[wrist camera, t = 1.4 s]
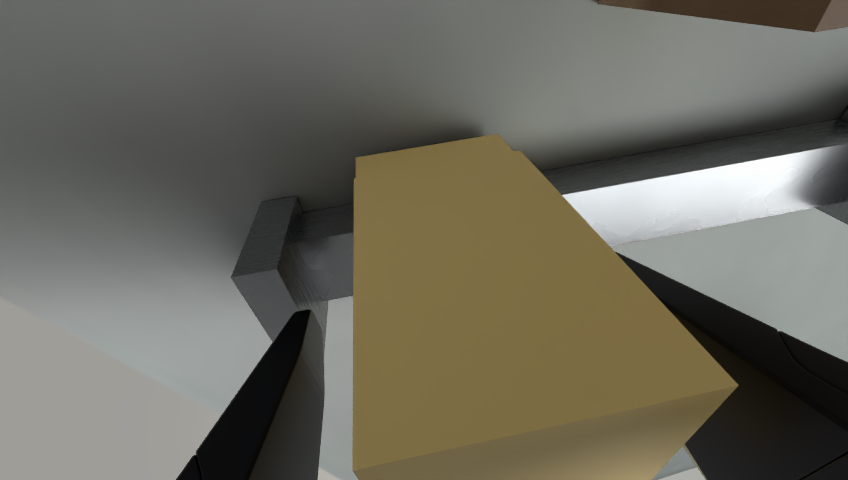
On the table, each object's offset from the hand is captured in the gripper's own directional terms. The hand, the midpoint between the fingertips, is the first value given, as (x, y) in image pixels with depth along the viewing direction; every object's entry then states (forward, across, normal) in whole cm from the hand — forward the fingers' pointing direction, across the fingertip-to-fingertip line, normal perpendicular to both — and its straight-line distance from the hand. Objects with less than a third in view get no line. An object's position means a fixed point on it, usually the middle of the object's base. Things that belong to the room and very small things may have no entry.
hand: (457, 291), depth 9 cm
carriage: (+3, 0, 0) cm, 3 cm away
